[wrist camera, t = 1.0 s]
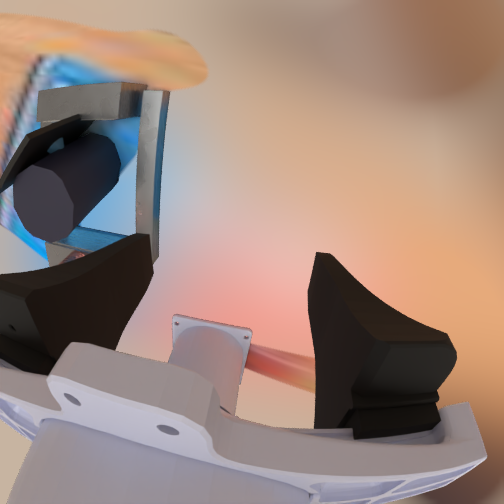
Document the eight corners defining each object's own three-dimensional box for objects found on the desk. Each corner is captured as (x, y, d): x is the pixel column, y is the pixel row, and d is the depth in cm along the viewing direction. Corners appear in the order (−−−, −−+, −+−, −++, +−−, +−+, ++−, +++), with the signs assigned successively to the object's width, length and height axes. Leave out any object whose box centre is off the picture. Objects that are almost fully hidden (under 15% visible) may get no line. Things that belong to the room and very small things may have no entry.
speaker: (59, 128, 20) (-22, 165, 11) (108, 103, 19) (25, 126, 10) (85, 201, 24) (21, 262, 15) (134, 184, 23) (73, 247, 14)
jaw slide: (138, 261, 25) (86, 332, 17) (71, 246, 25) (12, 302, 17) (138, 236, 24) (78, 303, 15) (69, 223, 24) (3, 275, 15)
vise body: (158, 256, 25) (141, 281, 21) (56, 235, 25) (33, 253, 21) (171, 85, 18) (149, 81, 15) (53, 91, 18) (23, 94, 14)
